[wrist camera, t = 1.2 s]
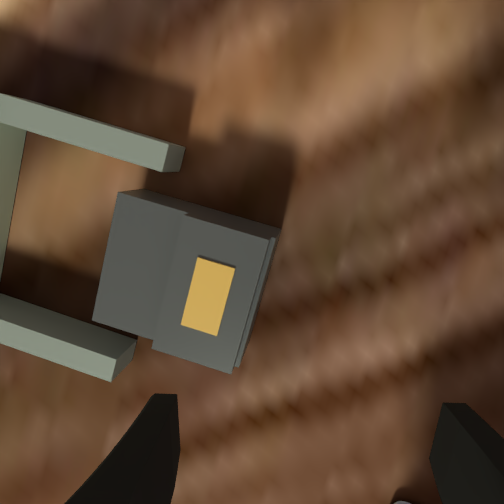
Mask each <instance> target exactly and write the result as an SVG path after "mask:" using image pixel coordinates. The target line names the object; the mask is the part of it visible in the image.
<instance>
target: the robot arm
mask: <svg viewBox="0 0 504 504" xmlns="http://www.w3.org/2000/svg"><path fill="white" fill-rule="evenodd" d="M179 456H180V436H179V419H178V402H177V394H154V395H153V396H151V398H150V399H149V401H148V402H147V404H146V405H145V407H144V408H143V410H142V411H141V412H140V414H139V415H138V417H137V418H136V420H135V421H134V422H133V424H132V425H131V426H130V428H129V429H128V431H127V432H126V433H125V434H124V436H123V437H122V438H121V440H120V441H119V442H118V443H117V445H116V446H115V447H114V448H113V450H112V451H111V452H110V454H109V455H108V456H107V457H106V458H105V460H104V461H103V462H102V463H101V464H100V465H99V466H98V468H97V469H96V470H95V471H94V472H93V473H92V475H91V476H90V477H89V478H88V479H87V480H86V481H85V482H84V484H83V485H82V486H81V487H80V488H79V489H78V490H77V491H76V492H75V493H74V494H73V495H72V496H71V497H70V498H69V499H68V500H67V501H66V502H65V503H64V504H170V503H171V500H172V496H173V492H174V488H175V482H176V475H177V469H178V462H179ZM429 459H430V463H431V467H432V471H433V474H434V478H435V482H436V485H437V488H438V492H439V495H440V498H441V501H442V503H443V504H504V439H503V438H502V437H501V436H500V435H499V434H498V433H497V432H496V431H495V430H494V429H493V428H491V427H490V426H489V425H488V424H487V423H486V422H485V421H484V420H483V419H482V418H481V417H480V416H479V415H478V414H477V413H476V412H474V411H473V410H472V409H471V408H470V407H469V406H468V405H467V404H466V403H443V404H442V408H441V412H440V416H439V420H438V424H437V428H436V432H435V436H434V441H433V445H432V449H431V453H430V457H429ZM394 504H411V503H408V502H405V501H397V502H395V503H394Z"/></svg>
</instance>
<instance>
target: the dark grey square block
mask: <svg viewBox="0 0 504 504" xmlns="http://www.w3.org/2000/svg"><path fill="white" fill-rule="evenodd" d="M280 232H281V229H280V228H276V227H273V226H270V225H266V224H263V223H259V222H256V221H252V220H249V219H246V218H242V217H239V216H235V215H232V214H228V213H225V212H222V211H218V210H215V209H211V208H208V207H204V206H201V205H198V204H194V203H191V202H187V201H184V200H180V199H177V198H174V197H170V196H167V195H163V194H160V193H156V192H153V191H150V190H146V189H139V190H131V191H123V192H118V194H117V199H116V204H115V209H114V214H113V219H112V224H111V229H110V234H109V238H108V243H107V248H106V253H105V258H104V263H103V268H102V273H101V278H100V282H99V287H98V292H97V297H96V302H95V307H94V312H93V317H92V321H95V322H98V323H102V324H105V325H108V326H111V327H114V328H117V329H120V330H123V331H126V332H130V333H133V334H136V335H139V336H142V337H145V338H148V339H151V340H153V344H152V349H154V350H157V351H161V352H164V353H167V354H170V355H173V356H176V357H179V358H182V359H185V360H188V361H191V362H195V363H198V364H201V365H204V366H207V367H210V368H213V369H216V370H219V371H222V372H225V373H229V374H231V373H232V371H233V369H234V366H235V367H238V368H239V366H240V363H241V361H242V358H243V356H244V353H245V351H246V348H247V346H248V343H249V340H250V336H251V333H252V329H253V326H254V322H255V319H256V316H257V312H258V309H259V305H260V302H261V298H262V295H263V291H264V288H265V284H266V281H267V277H268V274H269V271H270V267H271V264H272V260H273V257H274V253H275V250H276V246H277V243H278V239H279V236H280Z"/></svg>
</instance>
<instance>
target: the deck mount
mask: <svg viewBox="0 0 504 504" xmlns="http://www.w3.org/2000/svg"><path fill="white" fill-rule="evenodd" d="M26 131H30V132H33V133H37V134H40V135H43V136H46V137H50V138H53V139H56V140H59V141H63V142H66V143H69V144H72V145H76V146H79V147H82V148H85V149H88V150H92V151H95V152H98V153H101V154H105V155H108V156H111V157H114V158H118V159H121V160H124V161H127V162H131V163H134V164H137V165H140V166H144V167H147V168H150V169H153V170H157V171H160V172H180V168H181V164H182V160H183V156H184V152H185V148H186V147H184V146H181V145H177V144H174V143H171V142H167V141H164V140H161V139H157V138H154V137H151V136H147V135H144V134H141V133H138V132H134V131H131V130H128V129H124V128H121V127H118V126H114V125H111V124H108V123H104V122H101V121H98V120H95V119H91V118H88V117H85V116H81V115H78V114H75V113H71V112H68V111H65V110H61V109H58V108H55V107H52V106H48V105H45V104H42V103H38V102H35V101H32V100H27V99H23V98H19V97H15V96H11V95H6V94H2V93H0V280H1V274H2V268H3V263H4V257H5V251H6V246H7V240H8V234H9V228H10V223H11V217H12V211H13V205H14V200H15V194H16V188H17V183H18V177H19V171H20V165H21V160H22V154H23V148H24V142H25V137H26ZM136 342H137V340H136V339H133V338H130V337H127V336H124V335H121V334H118V333H115V332H113V331H110V330H107V329H104V328H101V327H98V326H95V325H92V324H89V323H86V322H83V321H80V320H77V319H75V318H72V317H69V316H66V315H63V314H60V313H57V312H54V311H51V310H48V309H45V308H42V307H39V306H37V305H34V304H31V303H28V302H25V301H22V300H19V299H16V298H13V297H10V296H7V295H4V294H1V293H0V343H1V344H4V345H7V346H10V347H13V348H16V349H18V350H21V351H24V352H27V353H30V354H33V355H35V356H38V357H41V358H44V359H47V360H50V361H52V362H55V363H58V364H61V365H64V366H67V367H69V368H72V369H75V370H78V371H81V372H84V373H86V374H89V375H92V376H95V377H98V378H101V379H104V380H106V381H109V382H111V381H112V380H113V379H114V378H115V377H116V376H117V375H118V374H119V373H120V372H121V371H122V370H123V369H124V368H125V367H126V366H127V365H128V364H129V363H130V362H131V361H132V358H133V354H134V350H135V346H136Z"/></svg>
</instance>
